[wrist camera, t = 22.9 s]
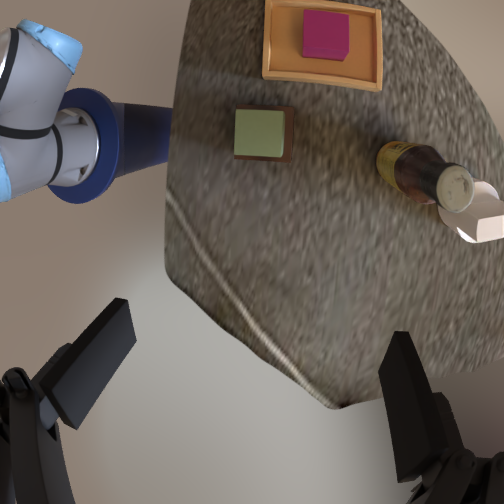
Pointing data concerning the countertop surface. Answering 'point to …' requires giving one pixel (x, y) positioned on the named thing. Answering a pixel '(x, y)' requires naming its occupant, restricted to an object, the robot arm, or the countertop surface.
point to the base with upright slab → (478, 215)
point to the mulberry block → (325, 35)
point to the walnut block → (287, 133)
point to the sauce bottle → (425, 175)
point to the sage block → (259, 133)
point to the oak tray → (319, 70)
